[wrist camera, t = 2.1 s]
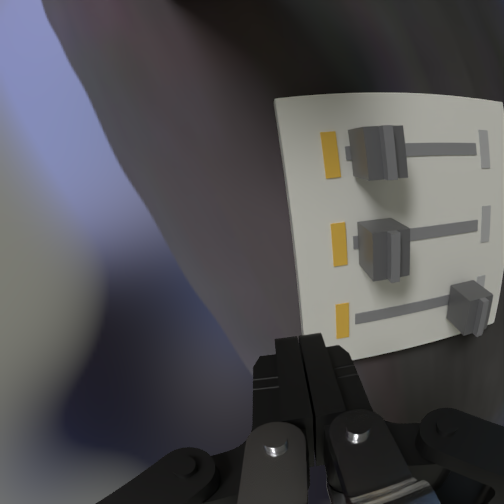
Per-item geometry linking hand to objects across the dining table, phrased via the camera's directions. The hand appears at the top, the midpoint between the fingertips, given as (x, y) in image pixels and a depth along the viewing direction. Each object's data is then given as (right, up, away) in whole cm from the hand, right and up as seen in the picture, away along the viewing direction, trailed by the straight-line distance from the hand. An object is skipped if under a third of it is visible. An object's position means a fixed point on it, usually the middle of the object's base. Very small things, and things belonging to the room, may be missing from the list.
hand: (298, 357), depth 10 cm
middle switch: (+7, +4, +10) cm, 13 cm away
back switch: (+16, 0, +12) cm, 19 cm away
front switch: (+6, +10, +9) cm, 14 cm away
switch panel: (+11, +5, +12) cm, 17 cm away
